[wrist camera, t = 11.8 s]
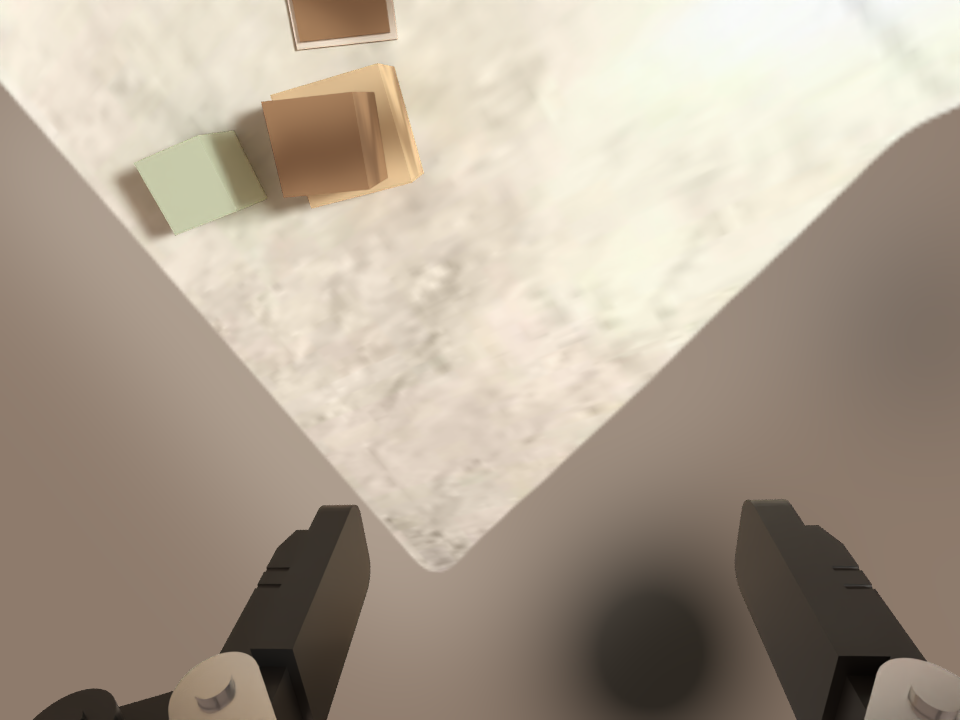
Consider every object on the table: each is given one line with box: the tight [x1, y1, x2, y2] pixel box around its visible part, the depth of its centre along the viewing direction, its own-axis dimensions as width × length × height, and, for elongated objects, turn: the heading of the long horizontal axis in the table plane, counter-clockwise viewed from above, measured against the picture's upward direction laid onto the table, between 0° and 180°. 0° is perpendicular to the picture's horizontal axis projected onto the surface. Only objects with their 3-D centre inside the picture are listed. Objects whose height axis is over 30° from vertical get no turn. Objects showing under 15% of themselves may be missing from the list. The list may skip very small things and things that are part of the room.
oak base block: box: [270, 63, 424, 208], centre depth 38 cm, size 7×7×5 cm
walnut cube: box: [261, 92, 388, 198], centre depth 34 cm, size 5×5×5 cm
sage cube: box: [134, 131, 267, 236], centre depth 40 cm, size 5×5×5 cm
